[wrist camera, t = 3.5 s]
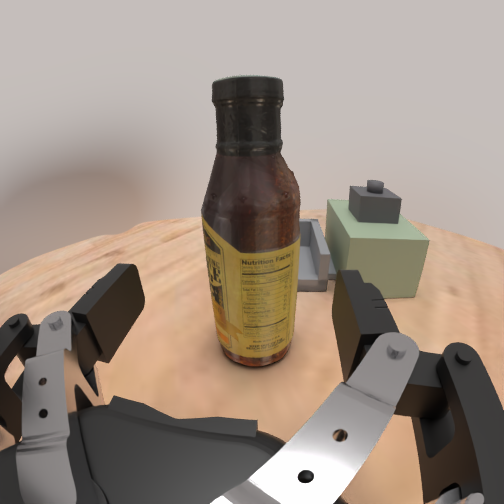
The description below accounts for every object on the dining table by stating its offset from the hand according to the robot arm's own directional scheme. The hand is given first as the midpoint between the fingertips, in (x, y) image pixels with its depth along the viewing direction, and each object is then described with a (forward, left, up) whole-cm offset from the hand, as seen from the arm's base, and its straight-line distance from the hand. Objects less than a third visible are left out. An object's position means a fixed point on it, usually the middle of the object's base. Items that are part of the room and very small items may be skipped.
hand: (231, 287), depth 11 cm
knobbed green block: (+7, +22, -11) cm, 25 cm away
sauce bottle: (0, +8, -11) cm, 14 cm away
